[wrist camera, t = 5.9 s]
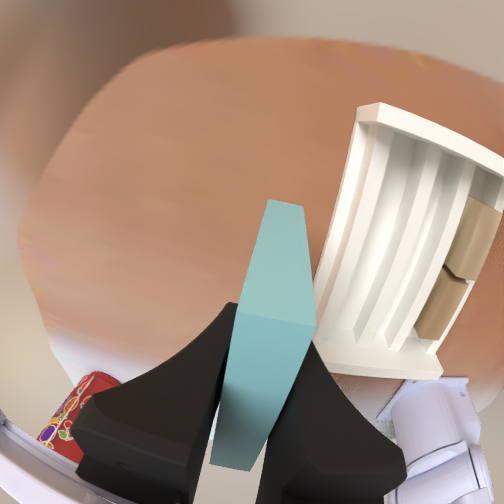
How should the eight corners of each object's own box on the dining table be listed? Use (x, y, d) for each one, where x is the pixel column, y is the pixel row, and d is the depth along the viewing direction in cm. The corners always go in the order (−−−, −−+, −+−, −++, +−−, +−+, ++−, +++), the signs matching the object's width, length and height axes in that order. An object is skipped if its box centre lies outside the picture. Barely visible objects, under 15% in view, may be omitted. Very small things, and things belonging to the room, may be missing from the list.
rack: (493, 163, 16) (533, 177, 11) (420, 341, 23) (437, 380, 18) (357, 107, 16) (380, 102, 12) (299, 323, 23) (299, 367, 19)
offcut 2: (476, 198, 16) (502, 213, 13) (454, 258, 19) (475, 281, 15) (457, 190, 16) (483, 204, 13) (435, 253, 19) (456, 276, 15)
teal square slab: (302, 206, 13) (317, 326, 6) (268, 338, 17) (249, 471, 9) (268, 198, 13) (236, 310, 6) (241, 332, 17) (209, 463, 9)
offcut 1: (451, 265, 19) (468, 285, 16) (426, 317, 21) (438, 340, 18) (432, 260, 19) (449, 280, 16) (408, 314, 21) (419, 338, 18)
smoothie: (72, 360, 31) (-3, 473, 13) (117, 364, 29) (39, 505, 11) (102, 401, 34) (46, 507, 16) (147, 408, 33) (94, 534, 15)
